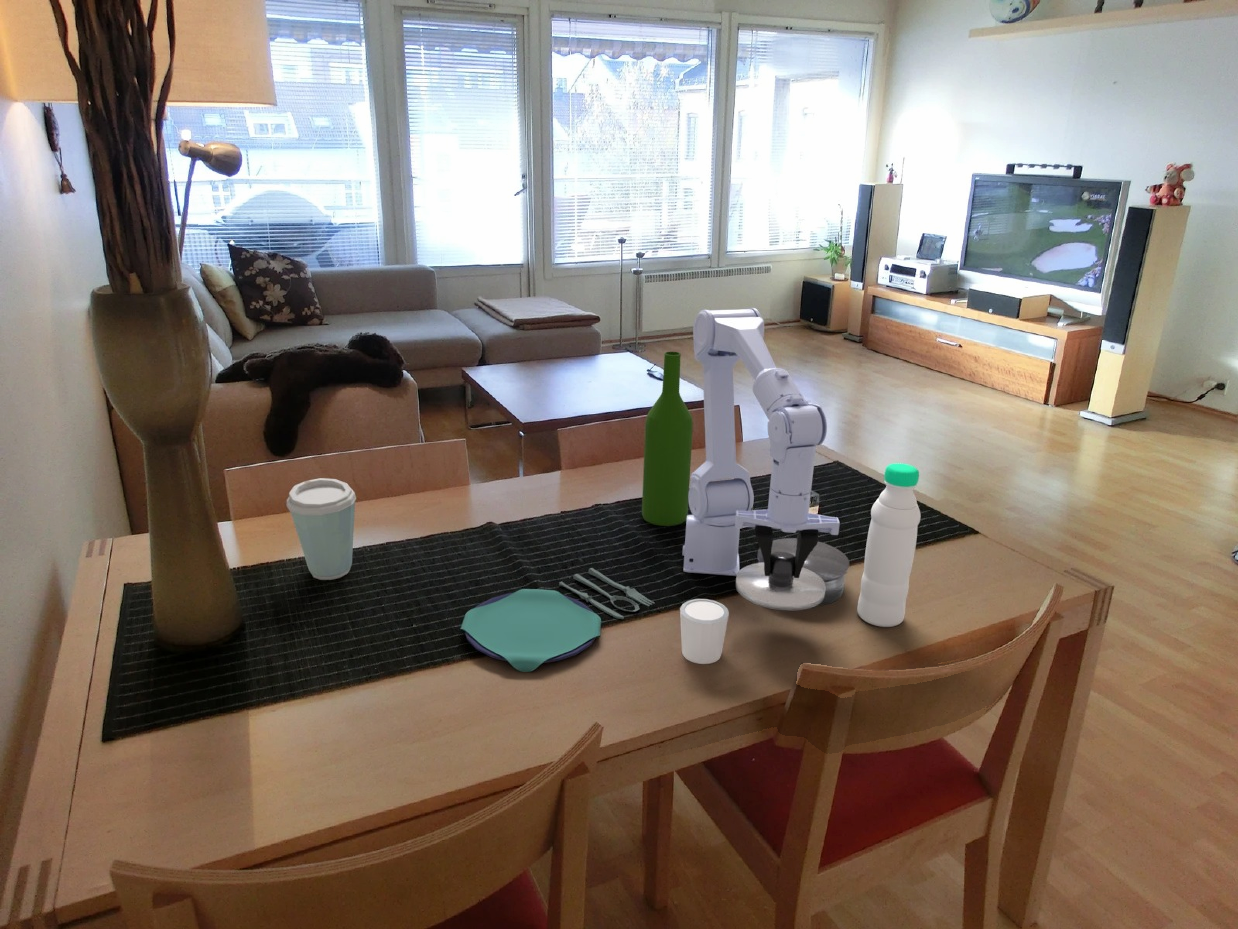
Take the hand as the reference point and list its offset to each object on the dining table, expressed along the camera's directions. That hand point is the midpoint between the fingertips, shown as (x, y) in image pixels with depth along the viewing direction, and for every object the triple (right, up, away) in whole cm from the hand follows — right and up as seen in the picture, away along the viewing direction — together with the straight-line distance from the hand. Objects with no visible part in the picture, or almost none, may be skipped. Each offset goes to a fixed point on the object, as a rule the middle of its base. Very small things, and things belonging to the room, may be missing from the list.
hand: (781, 573), depth 126 cm
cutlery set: (-33, -8, +4) cm, 34 cm away
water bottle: (+17, -8, +8) cm, 20 cm away
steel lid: (0, -2, +1) cm, 2 cm away
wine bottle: (-15, +6, +41) cm, 44 cm away
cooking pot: (+6, -4, +17) cm, 18 cm away
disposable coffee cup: (-72, -2, +16) cm, 74 cm away
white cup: (-12, -11, -3) cm, 17 cm away
